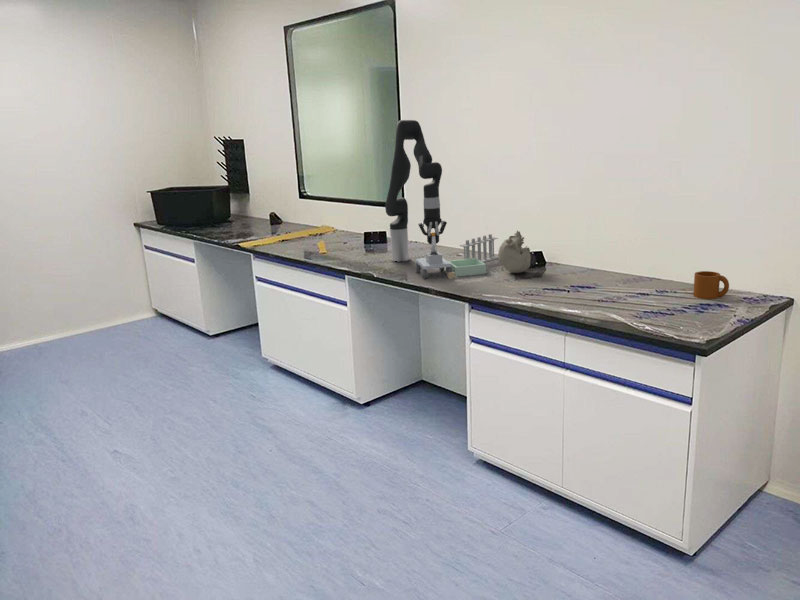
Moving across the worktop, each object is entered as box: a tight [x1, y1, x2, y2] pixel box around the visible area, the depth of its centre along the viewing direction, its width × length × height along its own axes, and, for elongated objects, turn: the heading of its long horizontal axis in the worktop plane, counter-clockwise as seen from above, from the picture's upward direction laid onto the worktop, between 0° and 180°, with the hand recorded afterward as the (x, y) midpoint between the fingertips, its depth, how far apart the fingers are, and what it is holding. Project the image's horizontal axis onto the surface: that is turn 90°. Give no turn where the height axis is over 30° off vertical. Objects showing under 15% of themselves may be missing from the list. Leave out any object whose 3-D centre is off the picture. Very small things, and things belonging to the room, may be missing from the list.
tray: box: [447, 257, 487, 278], centre depth 301 cm, size 15×15×4 cm
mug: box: [692, 270, 730, 300], centre depth 239 cm, size 9×12×9 cm
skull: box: [497, 230, 531, 274], centre depth 291 cm, size 13×15×20 cm
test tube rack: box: [459, 233, 499, 264], centre depth 317 cm, size 25×4×13 cm, turn 133°
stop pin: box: [429, 231, 438, 254], centre depth 293 cm, size 3×3×10 cm
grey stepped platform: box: [414, 251, 456, 280], centre depth 298 cm, size 20×14×10 cm
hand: (433, 243), depth 293 cm, fingers closed on stop pin, 2 cm apart
